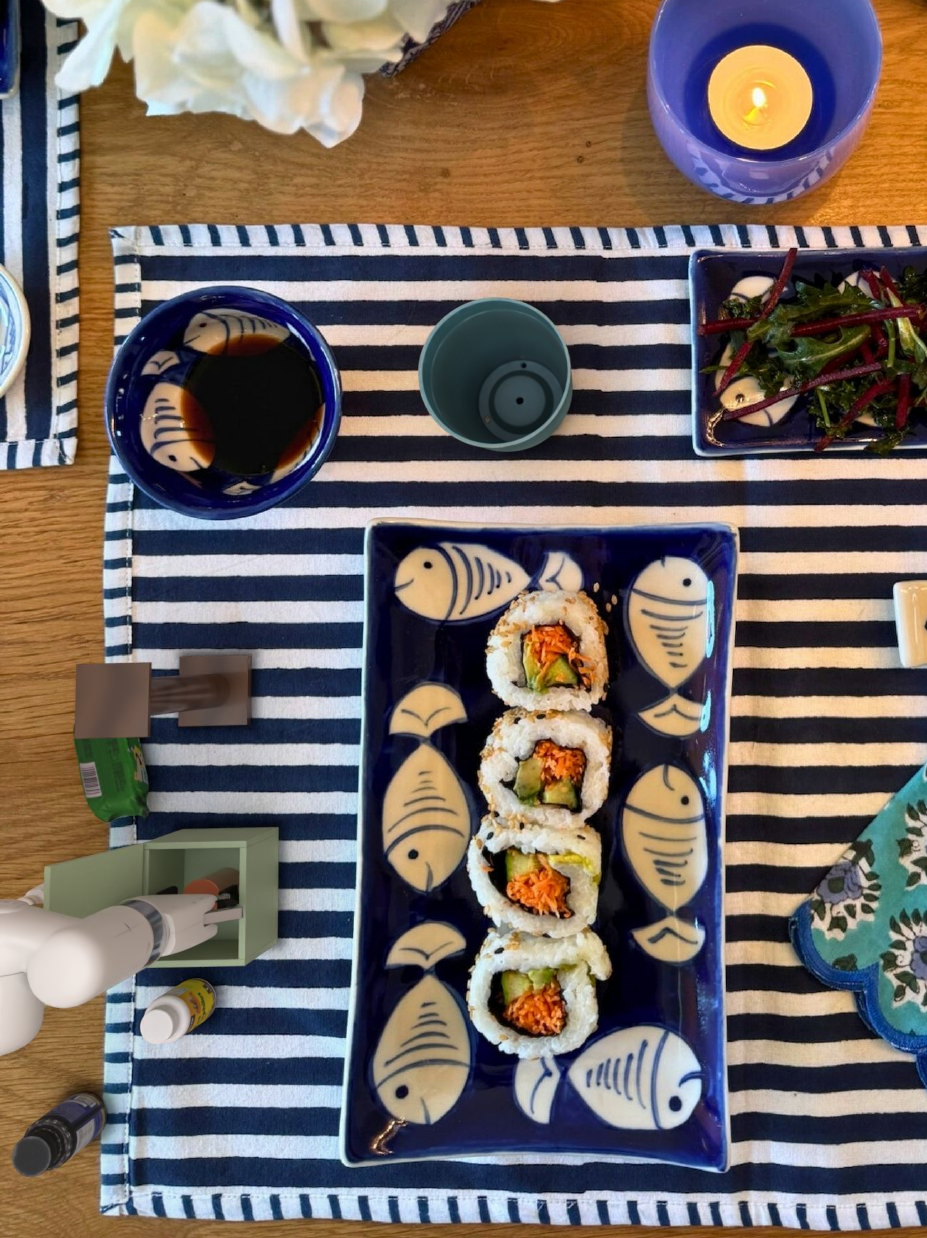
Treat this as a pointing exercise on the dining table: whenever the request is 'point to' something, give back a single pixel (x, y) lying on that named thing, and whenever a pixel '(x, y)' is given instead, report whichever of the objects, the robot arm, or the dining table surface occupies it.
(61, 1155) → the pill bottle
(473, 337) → the flower pot
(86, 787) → the snack package
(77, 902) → the lid
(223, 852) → the chest
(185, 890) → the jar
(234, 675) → the stand
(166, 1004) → the supplement bottle
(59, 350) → the dining table surface
